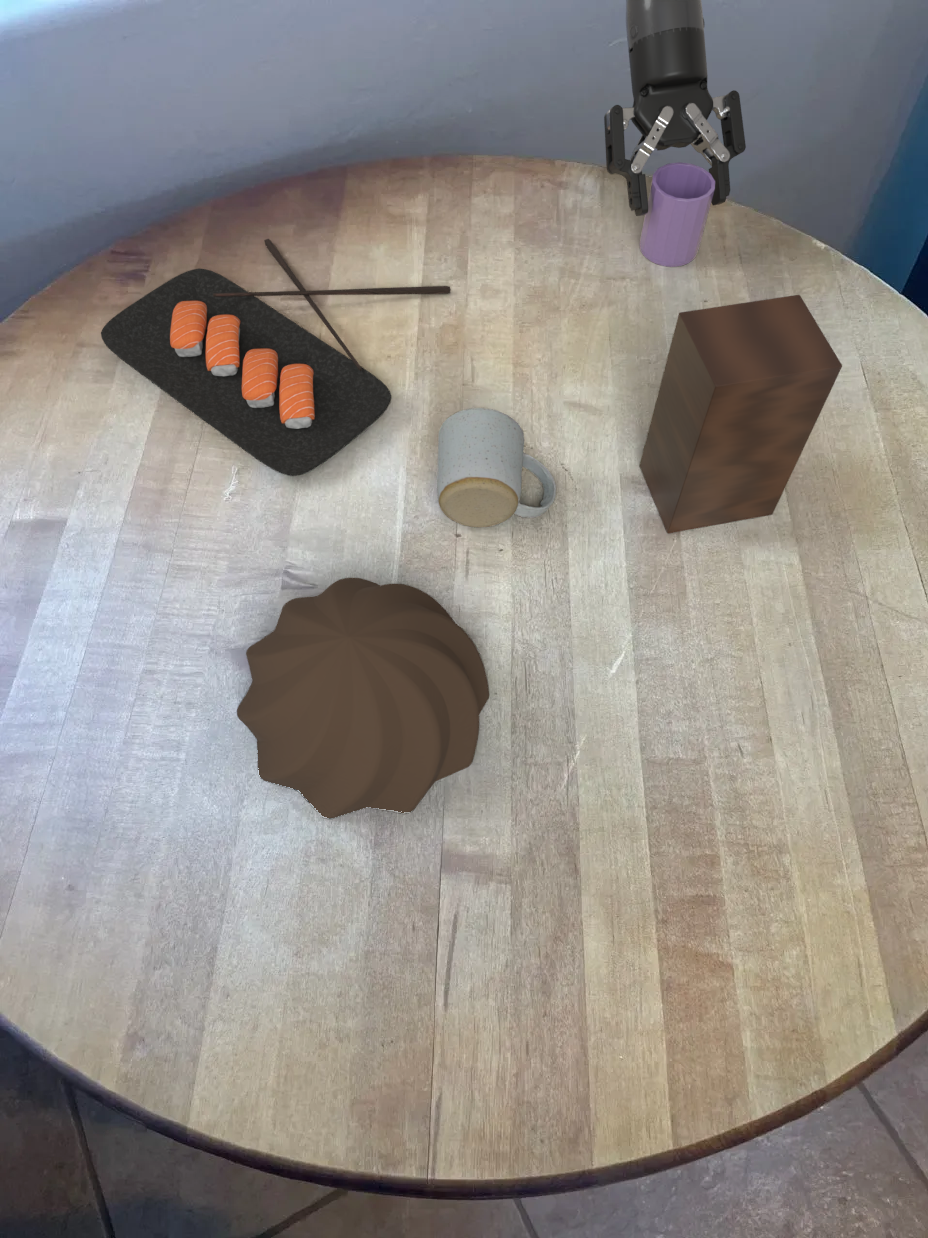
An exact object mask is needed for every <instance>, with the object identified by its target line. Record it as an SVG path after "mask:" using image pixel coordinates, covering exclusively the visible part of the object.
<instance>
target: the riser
mask: <svg viewBox="0 0 928 1238" xmlns="http://www.w3.org/2000/svg"><path fill="white" fill-rule="evenodd" d="M668 350H669V351H668V354H667V357H666V361H665V365H664V369H663V374H662V376H661V380H660V385H659V387H658V388H659V389H658V392H657V396H656V400H655V404H654V408H653V412H652V415H651V420H650V423H649V427H648V431H647V435H646V438H645V442H644V446H643V450H642V454H641V458H640V462H639V465H638V466H639V470H640V471H641V473H642V476H643V478H644V481H645V483H646V486H647V488H648V490H649V493H650V495H651V499H652V500H653V503H654V505H655V507H656V510H657V512H658V514H659V517H660V519H661V521H662V525H663V526H664V529H665V531H666V533H667V534H674V533H680V532H684V531H685V532H686V531H690V530H697V529H701V528H707V527H712V526H717V525H723V524H729V523H734V522H735V523H736V522H739V521H746V520H750V519H757V518H763V517H767V516H772V515H773V514H774V512H775V511H776V508H777V506H778V505H779V502H780V499H781V498H782V496H783V493H784V491H785V488H786V487H787V485H788V483H789V480H790V478H791V476H792V475H793V473H794V470H795V468H796V466H797V464H798V461H799V459H800V457H801V455H802V452H803V451H804V449H805V446H806V444H807V442H808V440H809V438H810V436H811V433H812V432H813V430H814V427H815V425H816V423H817V421H818V419H819V416H820V415H821V413H822V410H823V408H824V407H825V404H826V402H827V400H828V397H829V395H830V394H831V391H832V389H833V387H834V385H835V383H836V381H837V379H838V377H839V374H840V373H841V370H842V368H843V364H842V362H841V361H840V359H839V358H838V356H837V354H836V352H835V351H834V349H833V348H832V346H831V344H830V342H829V341H828V339H827V337H826V336H825V334H824V333H823V330H822V329H821V328H820V325H819V324H818V323H817V321H816V320H815V317H814V316H813V314H812V313H811V311H810V309H809V307H808V305H807V304H806V303H805V301H804V299H803V298H802V296H801V295H800V294H794V295H788V296H787V295H785V296H781V297H774V298H767V299H761V300H755V301H748V302H741V303H740V302H739V303H734V304H733V303H732V304H728V305H727V304H726V305H721V306H714V307H713V306H712V307H708V308H700V309H693V310H687V311H681V312H679V313H678V316H677V319H676V324H675V327H674V330H673V335H672V338H671V342H670V346H669V349H668Z"/></svg>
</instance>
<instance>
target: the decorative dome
mask: <svg viewBox="0 0 928 1238" xmlns="http://www.w3.org/2000/svg"><path fill="white" fill-rule="evenodd" d="M245 656H246V660H247V663H248V667H249V672H250V676H251V684H250V686H249V687H248V690H247V691H246V693H245V695H244V697H243V698H242V700H241V701H240V703H239V704H238V706H237V708H236V716H237V718H238V719H239V721H241V723H242V724H244V726H245V727H246V728H247V729H248V730H249V732H250V733H251V734H252V735H253V736H254V739H256V751H257V750H258V753H257V752H256V754H258V761H257V771H258V770H259V775H260V777H261V778H262V779H263V780H262V779H261V778H260V777H259V778H260V779H261V780H262V781H264V782H267V781H268V782H267V783H270V782H271V784H273V783H275V784H274V785H277V784H279V785H278V786H280V785H282V786H281V787H283V786H286V787H285V788H287V787H290V788H293V789H296V790H299V791H300V792H301V794H303V796H304V797H305V798H306V799H307V800H308V801H309V803H311V804H312V805H313V806H314V808H316V810H318V812H319V813H321V815H322V816H324V817H327V818H333V819H335V817H336V818H339V817H342V816H345V815H348V814H347V813H349V814H351V812H352V813H354V812H353V811H355V812H358V811H361V810H364V809H367V808H366V807H371V808H370V809H373V808H379V809H386V810H394V811H398V812H401V811H402V812H401V813H404V812H410V813H412V812H413V811H414V810H415V809H416V808H417V806H418V805H419V804H420V802H421V801H422V800H423V798H424V797H425V796H426V794H427V793H428V792H429V790H430V789H431V788H432V786H433V785H434V784H435V783H436V782H438V781H440V780H442V779H444V778H447V777H449V776H451V775H454V774H457V773H458V772H461V771H463V770H465V769H467V768H469V767H470V766H471V765H472V763H473V761H474V758H475V754H476V750H477V746H478V739H479V734H480V715H481V713H482V711H483V709H484V707H485V705H487V702H488V701H489V699H490V687H489V681H488V677H487V671H486V669H485V665H484V662H483V659H482V656H481V654H480V652H479V650H478V648H477V646H476V643H474V641H473V640H472V638H471V637H470V635H469V634H468V632H466V631H465V630H464V629H463V628H462V627H461V626H460V625H459V624H457V623H456V622H455V620H454V619H453V617H452V616H451V615H450V613H449V612H448V611H447V610H446V609H445V608H444V606H443V605H442V604H441V603H439V601H437V599H435V598H434V597H433V596H431V595H430V594H428V593H427V592H425V591H423V590H422V589H420V588H417V587H415V586H413V585H409V584H404V583H386V584H379V583H377V582H374V581H372V580H369V579H365V578H362V577H361V578H360V577H344V578H340V579H337V580H336V581H334V582H333V583H331V584H330V585H329V586H328V587H326V588H325V589H323V591H321V593H318V595H311V596H301V597H295V598H292V599H290V600H288V601H286V602H285V603H284V604H283V606H282V608H281V611H280V614H279V617H278V619H277V622H276V625H275V627H274V629H273V630H272V631H271V632H270V633H268V634H267V635H266V636H264V637H263V638H261V639H260V640H258V641H256V642H255V643H253V644H251V645H250V646H249V647H248V648H247V649H246V651H245ZM258 768H259V769H258ZM259 775H258V776H259ZM290 788H289V789H290ZM293 789H292V790H293ZM296 790H295V791H296ZM301 794H300V795H301ZM303 796H302V797H303ZM304 797H303V798H304ZM305 798H304V799H305ZM306 799H305V800H306ZM307 800H306V801H307ZM309 803H308V804H309ZM314 808H313V809H314ZM363 808H364V809H363ZM360 809H361V810H360ZM316 810H315V811H316ZM357 810H358V811H357ZM411 811H412V812H411ZM401 813H400V814H401ZM344 814H345V815H344ZM341 815H342V816H341ZM338 816H339V817H338Z"/></svg>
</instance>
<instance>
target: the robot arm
mask: <svg viewBox="0 0 928 1238" xmlns="http://www.w3.org/2000/svg"><path fill="white" fill-rule="evenodd" d="M702 3H703V2H702V0H625V28H626V29H625V30H626V40H627V50H628V61H629V62H628V63H629V72H630V81H631V91H632V97H633V103H632V106H630V107H622V106H621V105H619V104H615V105H613V106H612V107H611V108H609V109H608V110H607V112H606V113H605V114H604V117H603V123H604V124H603V125H604V142H605V143H604V144H605V163H606V172H607V173H608V174H610V175H619V176H621V177H624V178H625V181H626V187H627V199H628V206H629V209H630V211H631V212H634V214H635V217H643V216H645V214H647V213H648V188H647V179H646V173H643V169H644V168H645V166H646V164H647V161H648V160H649V158H650V156H651V155H652V153H653V151H654V150H656V151H657V152H658V151H665V150H667V149H669V148H676V149H677V148H678V149H680V148H687V147H688V146H689V145H690V146H691V147H692V148H693V150H694V151H695V152H697V153H699V154H701V156H702V157H703V158H704V159H705V160H706V161H707V163H708V164H709V165H710V168H708V172H709V173H710V174H711V175H712V177H713V179H714V180H715V190H714V194H713V198H712V201H711V205H712V206H720V205H722V204H724V203H726V202H727V197H729V196H730V193H731V181H730V167H729V166H730V162H731V160H732V159H734V158H735V157H737V156H739V155H741V154H742V153H744V152H745V151H746V148H747V146H746V136H745V129H744V121H743V114H742V105H741V97H740V94H739V92H738V91H737V90H733V89H732V90H731V91H729V92H728V93H726V94H724V95H719V96H714V97H712V95H711V93H710V92H709V89H708V79H709V77H708V65H707V51H706V39H705V38H706V37H705V18H704V14H703V4H702ZM712 112H714V114H715V117H716V119H718V120H720V127H721V136H722V141H721V140H720V139H719V134H718V132H717V131H716V130H715V128H714V127H713V126H712V125H711V124H710V122H709V121H708V119H709V117H710V115H711V113H712ZM630 121H631V122H632V124H633V125H634V126H635V127H636V129H637V130H638V131H639V132H640V134H641V136H640V137H639V139H638V141H637V143H636V145H635V146H634V149H633V150H632V152H631V153H632V154H631V156H630V158H629V159H627V158H626V147H625V130H627V129H628V127H629V125H630V124H629V123H630Z"/></svg>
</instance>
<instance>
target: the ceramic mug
mask: <svg viewBox="0 0 928 1238" xmlns="http://www.w3.org/2000/svg"><path fill="white" fill-rule="evenodd" d="M437 439H438V440H437V441H438V442H437V476H436V496H437V502H438V506H439V508H440V510H441V511H442V513H443V515H444V516H446V517H447V518H448V519H450V520H451V521H452V522H455V523H457V524H460V525H462V526H465V527H470V528H489V527H493V526H497V525H500V524H502V523H504V522H506V521H508V520H509V519H510V518H511V517H512V516H513V515H515V516H518V517H521V518H529V519H530V518H533V519H534V518H539V517H541V516H542V515H543V514H545V513H546V512H547V511H548V509H550V507H551V506H552V505H553V504H554V501H555V500H556V495H557V483H556V481H555V478H554V476H553V474H552V473H551V472H550V470H549V469H548V468H547V467H546V466H545V464H544V463H542V462H541V461H539V460H538V459H537V458H535V457H533V456H532V455H530V454H529V453H525V451H524V450H525V433H524V430H523V428H522V427H521V425H520V423H519V422H518V421H517V420H516V419H514V418H513V417H511V416H510V415H509V414H507V413H505V412H502V411H500V410H497V409H494V408H485V407H471V408H466V409H462V410H459V411H456V412H455V413H453V414H451V415H449V416H448V417H447V418H446V419H445V420H444V421H443V422H442V423H441V425H440V428H439V429H438V438H437ZM523 468H524V469H526V470H527V471H529V472H530V473H531V474H533V475H534V476H535V477H536V478H537V479H538V480H539V482H540V483H541V485H542V488H543V493H542V494H543V495H542V500H541V501H540V503H539V504H540V506H531V505H526V504H524V503H523V504H522V503H521V502H520V499H521V494H522V479H523V478H522V477H523V476H522V475H523Z"/></svg>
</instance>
